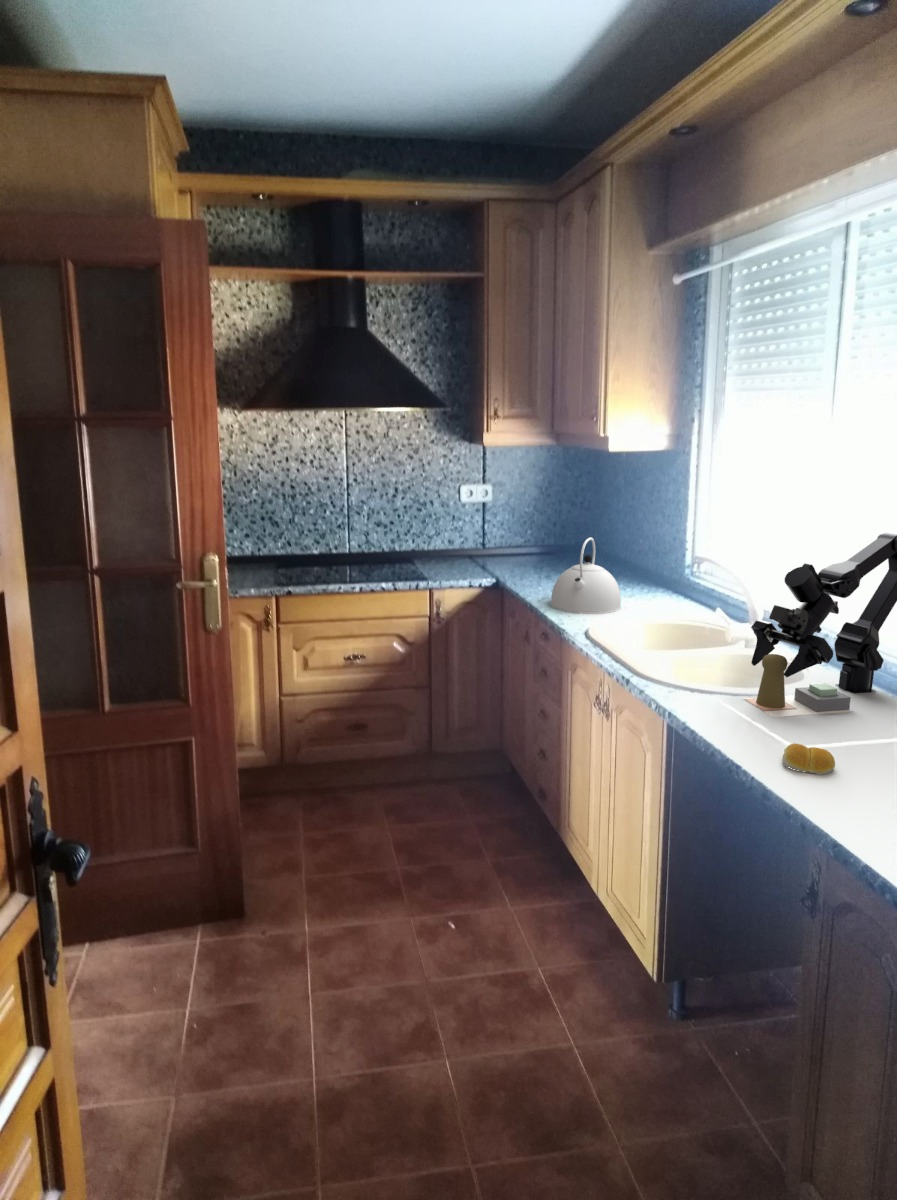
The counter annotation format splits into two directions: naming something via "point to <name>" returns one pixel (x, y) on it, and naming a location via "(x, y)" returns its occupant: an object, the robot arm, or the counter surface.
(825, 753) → the bread roll
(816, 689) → the button
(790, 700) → the picture board
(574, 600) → the kettle
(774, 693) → the cork
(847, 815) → the counter surface
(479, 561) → the counter surface
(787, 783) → the counter surface
